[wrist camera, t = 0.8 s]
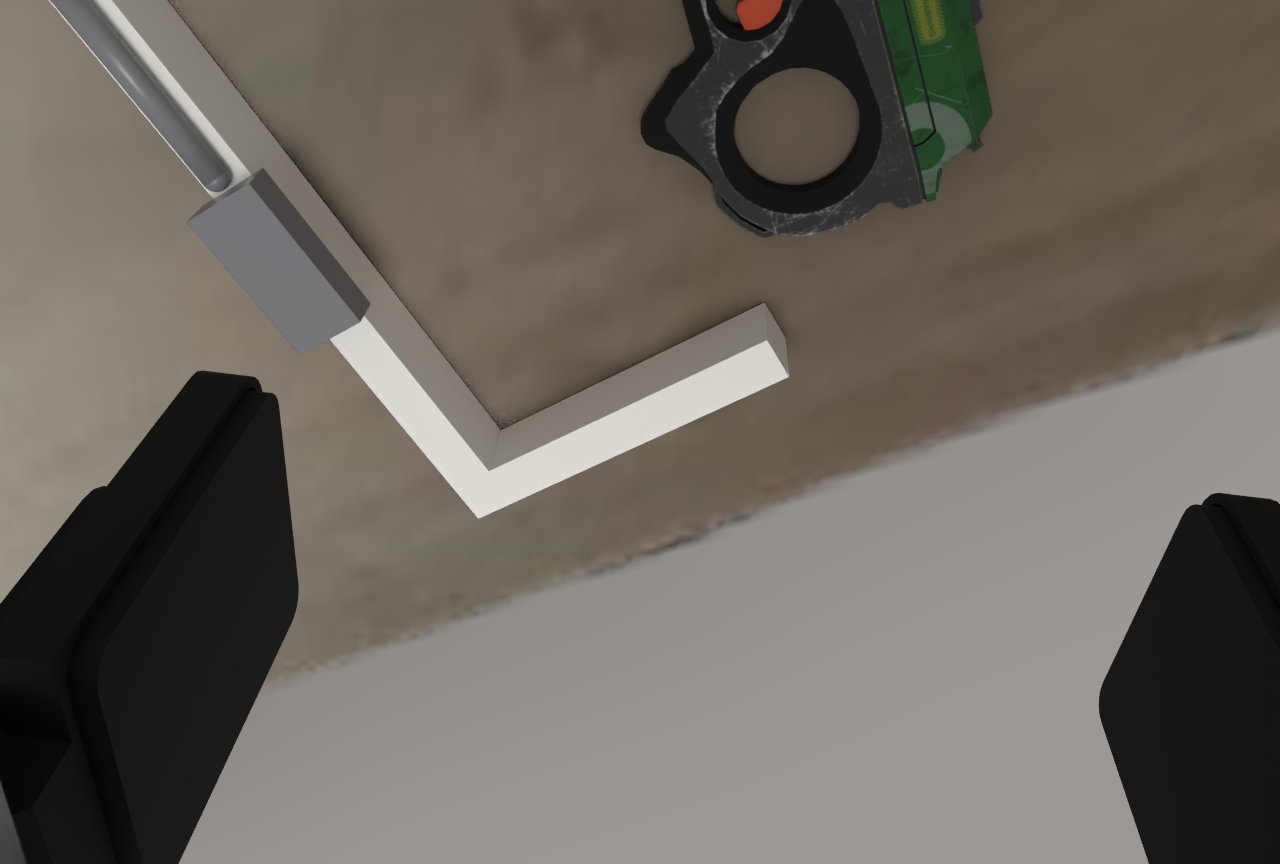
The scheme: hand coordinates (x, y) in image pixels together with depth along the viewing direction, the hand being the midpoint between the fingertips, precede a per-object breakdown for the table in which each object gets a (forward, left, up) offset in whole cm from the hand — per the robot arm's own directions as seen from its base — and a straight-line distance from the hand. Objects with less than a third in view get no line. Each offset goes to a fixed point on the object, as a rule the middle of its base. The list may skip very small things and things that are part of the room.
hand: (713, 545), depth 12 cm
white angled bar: (+9, -1, -24) cm, 26 cm away
